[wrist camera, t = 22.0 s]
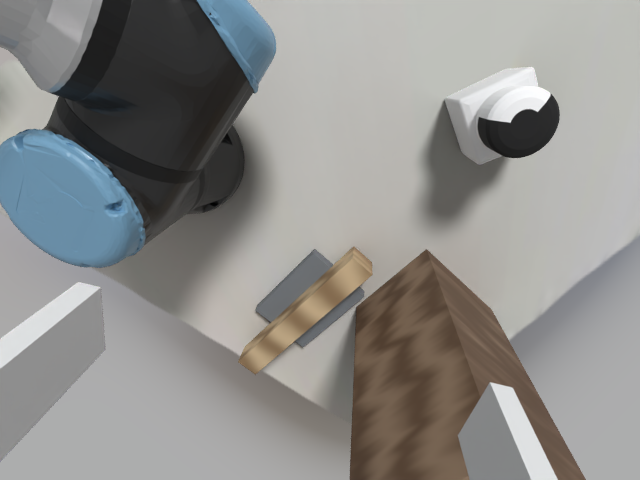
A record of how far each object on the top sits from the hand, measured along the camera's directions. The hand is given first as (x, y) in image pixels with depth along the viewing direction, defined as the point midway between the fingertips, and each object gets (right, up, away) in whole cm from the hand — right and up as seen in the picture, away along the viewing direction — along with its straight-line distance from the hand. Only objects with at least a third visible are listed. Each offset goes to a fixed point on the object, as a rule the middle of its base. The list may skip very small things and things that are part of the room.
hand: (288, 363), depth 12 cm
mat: (-1, -5, +43) cm, 43 cm away
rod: (-2, -6, +42) cm, 42 cm away
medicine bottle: (+20, +19, +29) cm, 40 cm away
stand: (+17, -6, +41) cm, 45 cm away
